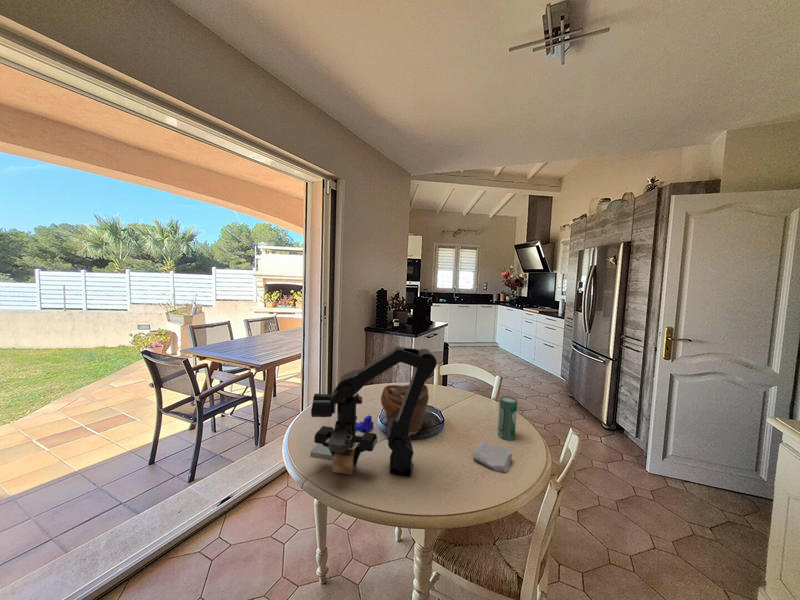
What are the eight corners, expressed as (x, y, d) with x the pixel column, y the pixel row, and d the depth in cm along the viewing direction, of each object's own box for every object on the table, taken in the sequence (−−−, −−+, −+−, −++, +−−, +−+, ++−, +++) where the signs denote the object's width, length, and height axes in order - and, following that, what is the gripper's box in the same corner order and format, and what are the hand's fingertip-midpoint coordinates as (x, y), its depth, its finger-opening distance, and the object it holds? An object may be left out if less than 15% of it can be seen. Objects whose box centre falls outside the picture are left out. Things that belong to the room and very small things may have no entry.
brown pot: (370, 427, 121) (372, 384, 120) (406, 413, 135) (408, 374, 133) (399, 448, 108) (401, 399, 106) (436, 430, 121) (439, 387, 120)
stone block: (506, 480, 96) (512, 458, 104) (506, 467, 95) (512, 446, 103) (470, 468, 102) (478, 448, 110) (469, 456, 101) (478, 437, 109)
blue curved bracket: (373, 429, 121) (373, 414, 120) (367, 434, 116) (367, 419, 116) (348, 421, 126) (348, 407, 125) (341, 426, 122) (342, 412, 121)
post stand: (356, 442, 110) (357, 423, 110) (344, 461, 99) (344, 441, 98) (326, 437, 113) (326, 419, 112) (310, 456, 101) (310, 436, 100)
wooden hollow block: (357, 462, 97) (358, 448, 96) (351, 474, 91) (351, 459, 90) (340, 460, 98) (340, 445, 97) (332, 471, 92) (332, 456, 92)
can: (516, 440, 116) (519, 402, 114) (500, 440, 116) (503, 402, 114) (510, 432, 122) (513, 396, 120) (495, 431, 122) (498, 395, 120)
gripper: (305, 424, 87) (305, 475, 88) (367, 433, 83) (366, 486, 85) (322, 408, 98) (322, 453, 99) (378, 415, 94) (377, 462, 95)
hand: (345, 464), depth 94 cm, fingers closed on wooden hollow block, 6 cm apart
